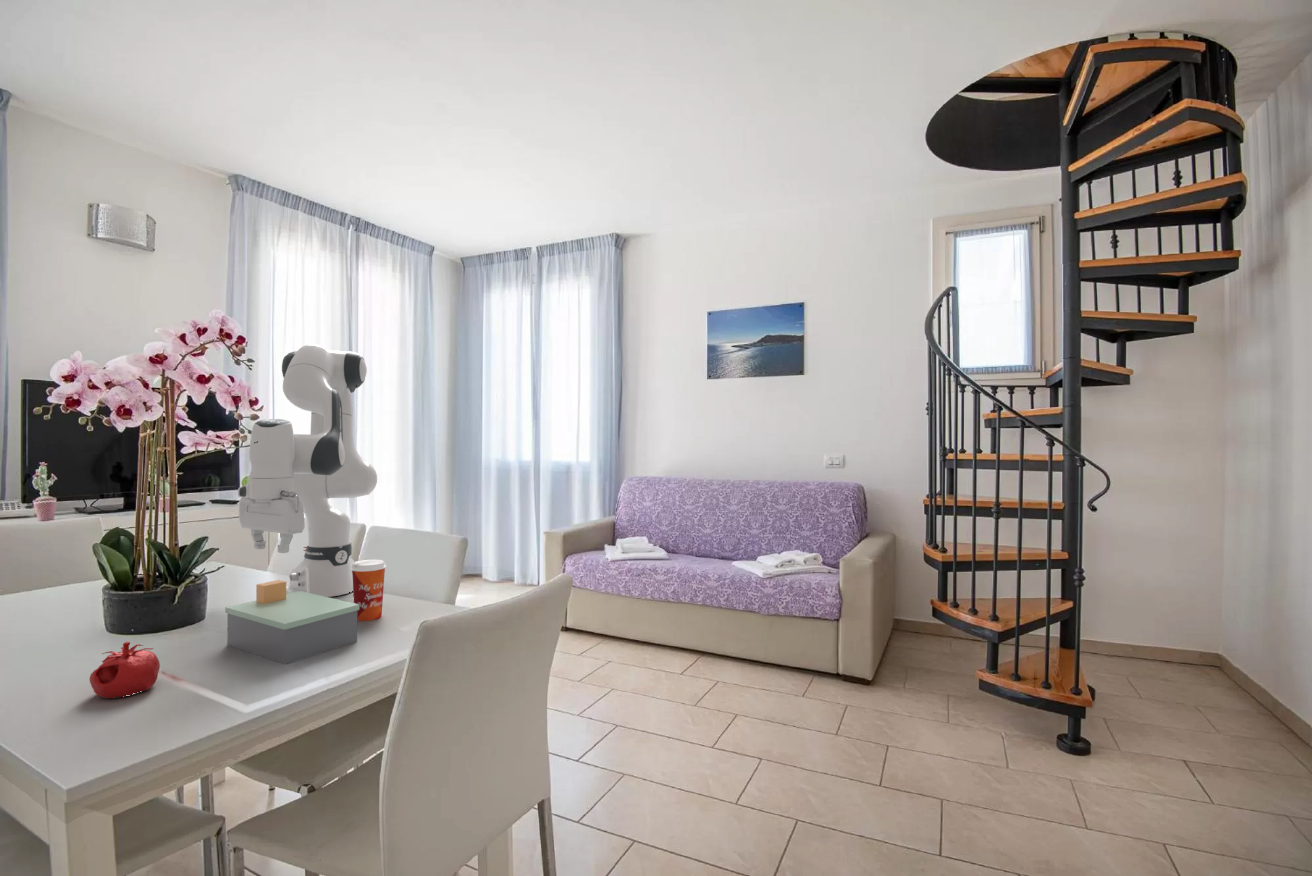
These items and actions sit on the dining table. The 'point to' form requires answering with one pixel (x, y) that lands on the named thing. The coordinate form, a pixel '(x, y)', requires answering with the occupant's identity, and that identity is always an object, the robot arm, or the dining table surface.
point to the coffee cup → (368, 588)
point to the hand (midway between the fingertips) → (271, 550)
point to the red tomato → (125, 672)
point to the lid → (289, 606)
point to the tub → (291, 637)
